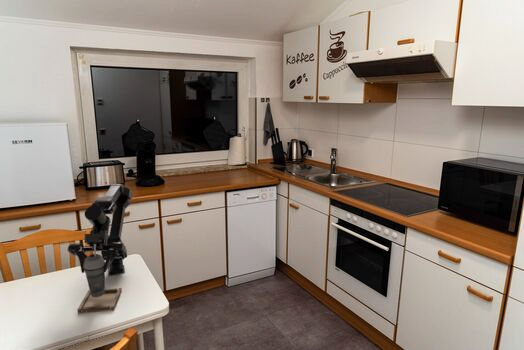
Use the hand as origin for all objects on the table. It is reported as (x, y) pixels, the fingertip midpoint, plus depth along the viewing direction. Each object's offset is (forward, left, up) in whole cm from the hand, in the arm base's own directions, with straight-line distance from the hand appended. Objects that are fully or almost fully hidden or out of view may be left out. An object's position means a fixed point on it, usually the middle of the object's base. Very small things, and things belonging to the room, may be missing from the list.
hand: (93, 272), depth 126 cm
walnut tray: (-2, +1, -13) cm, 13 cm away
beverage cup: (-1, 0, -10) cm, 10 cm away
